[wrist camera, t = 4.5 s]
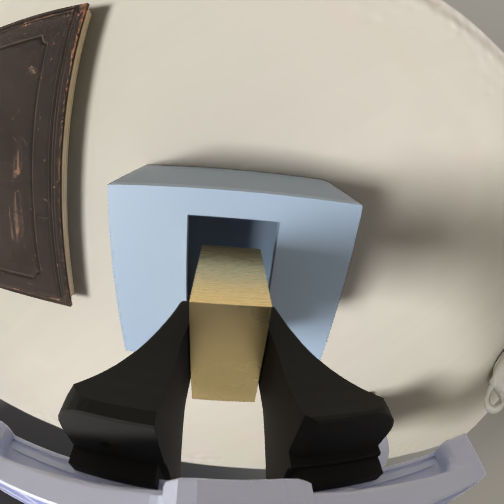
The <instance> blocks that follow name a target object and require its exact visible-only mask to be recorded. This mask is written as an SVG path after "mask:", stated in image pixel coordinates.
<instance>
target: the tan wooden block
mask: <svg viewBox="0 0 504 504" xmlns="http://www.w3.org/2000/svg"><path fill="white" fill-rule="evenodd" d="M271 311H272V303H271V298H270V293H269V289H268V284H267V279H266V274H265V269H264V264H263V259H262V254H261V249H252V248H239V247H226V246H212V245H202V248H201V252H200V257H199V261H198V265H197V269H196V274H195V278H194V282H193V287H192V291H191V296H190V300H189V327H190V363H191V386H192V399H203V400H217V401H239V402H255V397H256V392H257V386H258V381H259V376H260V371H261V366H262V360H263V355H264V350H265V344H266V339H267V333H268V328H269V322H270V317H271Z"/></svg>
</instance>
